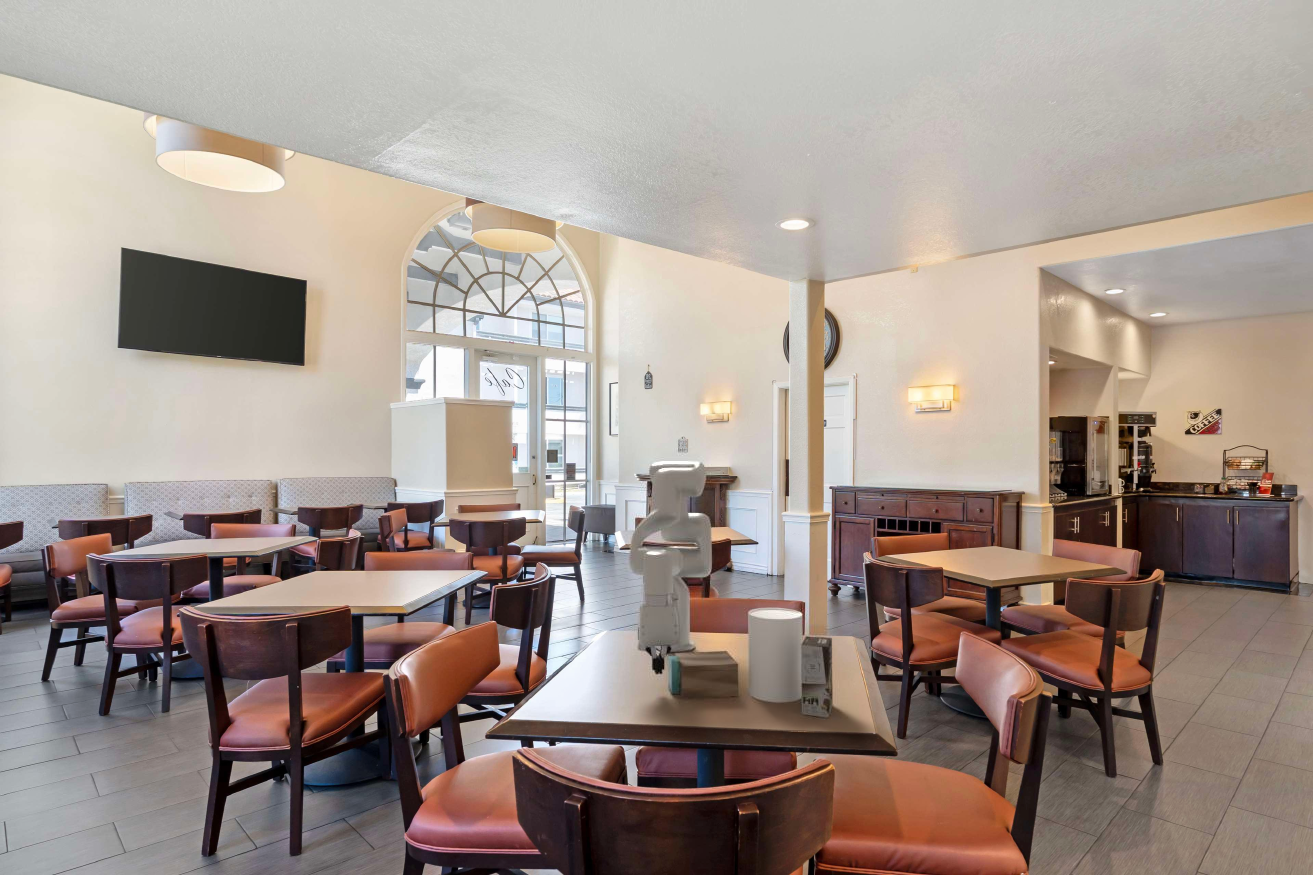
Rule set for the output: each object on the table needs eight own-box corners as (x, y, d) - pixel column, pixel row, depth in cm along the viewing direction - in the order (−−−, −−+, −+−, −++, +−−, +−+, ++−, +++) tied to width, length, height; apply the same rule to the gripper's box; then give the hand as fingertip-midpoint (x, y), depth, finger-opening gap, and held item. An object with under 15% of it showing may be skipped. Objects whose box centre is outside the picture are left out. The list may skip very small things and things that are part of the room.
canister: (811, 700, 168) (810, 617, 169) (758, 703, 166) (757, 620, 166) (791, 683, 181) (790, 606, 182) (742, 686, 179) (741, 608, 180)
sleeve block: (674, 683, 181) (674, 652, 181) (726, 681, 183) (726, 650, 183) (682, 698, 169) (682, 666, 169) (738, 696, 171) (738, 663, 171)
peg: (668, 687, 177) (668, 655, 178) (721, 684, 179) (721, 653, 180) (671, 693, 172) (671, 661, 172) (726, 690, 174) (726, 659, 174)
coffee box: (829, 718, 156) (828, 646, 157) (800, 714, 158) (800, 644, 159) (833, 705, 165) (832, 637, 165) (806, 702, 167) (805, 634, 167)
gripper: (684, 596, 180) (684, 666, 179) (627, 598, 178) (627, 669, 177) (689, 601, 173) (690, 675, 172) (630, 603, 170) (630, 678, 170)
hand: (658, 672), depth 174 cm, fingers closed
